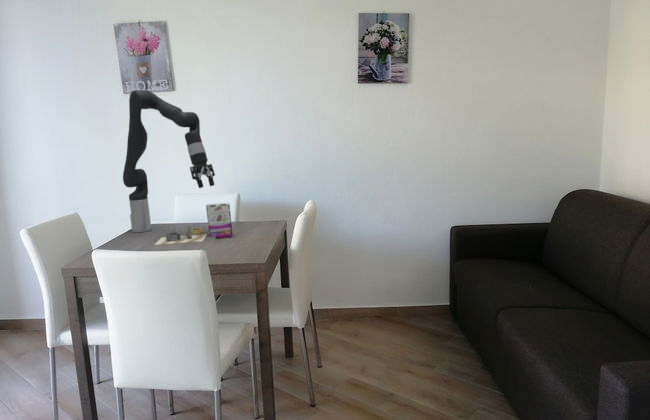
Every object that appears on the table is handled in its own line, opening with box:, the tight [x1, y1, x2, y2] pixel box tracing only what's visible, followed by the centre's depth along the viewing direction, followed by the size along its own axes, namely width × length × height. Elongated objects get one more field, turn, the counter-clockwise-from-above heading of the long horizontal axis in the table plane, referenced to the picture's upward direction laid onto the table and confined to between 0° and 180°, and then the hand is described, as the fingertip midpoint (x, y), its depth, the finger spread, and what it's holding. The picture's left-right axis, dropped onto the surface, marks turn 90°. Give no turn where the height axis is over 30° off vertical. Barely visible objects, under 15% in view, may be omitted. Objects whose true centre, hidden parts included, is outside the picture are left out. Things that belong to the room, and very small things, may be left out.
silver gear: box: [165, 231, 182, 242], centre depth 222 cm, size 6×6×3 cm
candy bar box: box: [205, 202, 233, 239], centre depth 227 cm, size 11×5×16 cm, turn 105°
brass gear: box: [191, 227, 204, 235], centre depth 235 cm, size 6×6×3 cm
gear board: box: [154, 225, 208, 246], centre depth 222 cm, size 22×14×7 cm, turn 96°
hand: (206, 186), depth 221 cm, fingers open, 8 cm apart
